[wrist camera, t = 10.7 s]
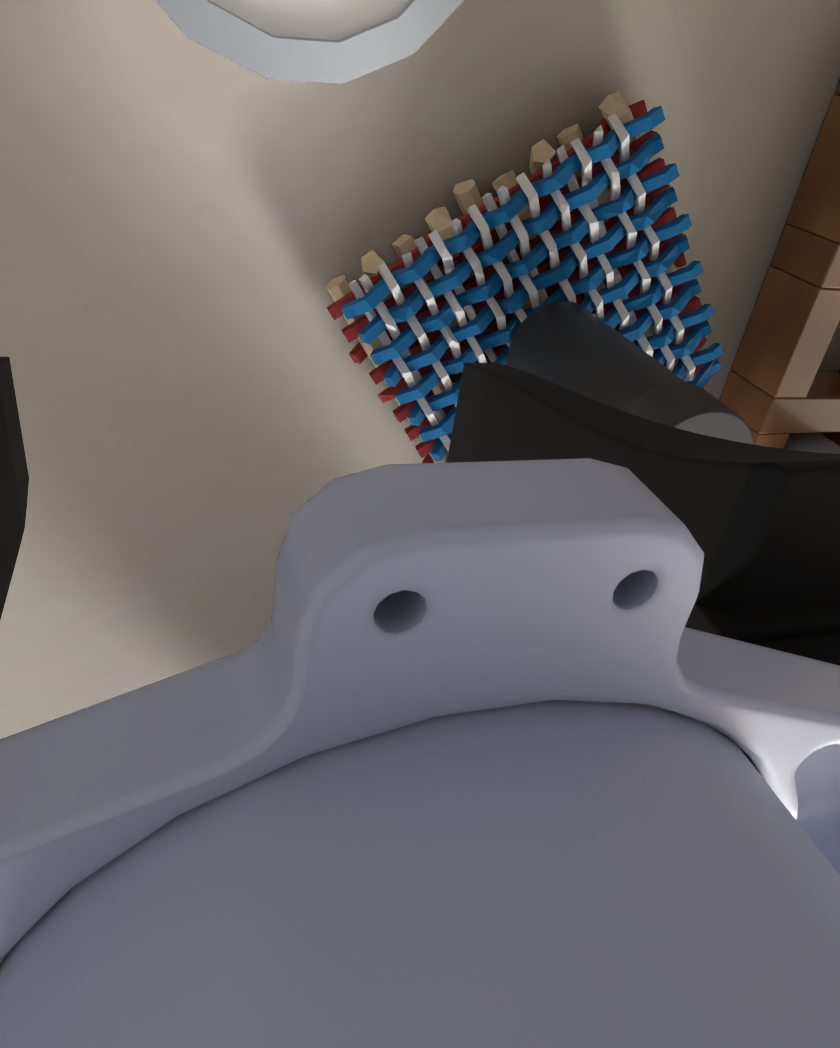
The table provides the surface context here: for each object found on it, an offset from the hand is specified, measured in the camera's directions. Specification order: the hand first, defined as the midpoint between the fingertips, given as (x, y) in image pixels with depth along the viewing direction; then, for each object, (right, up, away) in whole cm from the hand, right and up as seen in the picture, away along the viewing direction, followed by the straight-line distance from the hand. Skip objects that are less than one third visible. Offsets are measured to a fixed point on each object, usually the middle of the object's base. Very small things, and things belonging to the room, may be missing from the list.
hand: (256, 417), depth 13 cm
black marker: (+7, +4, +11) cm, 13 cm away
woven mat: (+6, +5, +12) cm, 15 cm away
